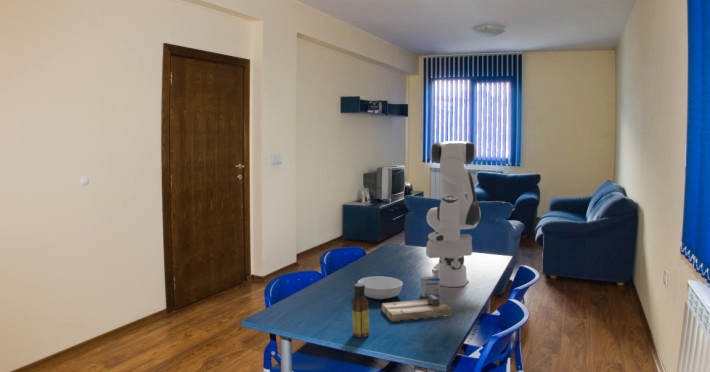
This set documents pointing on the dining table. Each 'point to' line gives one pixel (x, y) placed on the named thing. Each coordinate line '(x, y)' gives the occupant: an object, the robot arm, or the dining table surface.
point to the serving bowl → (381, 287)
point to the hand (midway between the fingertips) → (449, 266)
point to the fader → (433, 300)
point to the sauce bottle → (360, 312)
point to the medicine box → (430, 286)
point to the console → (414, 310)
